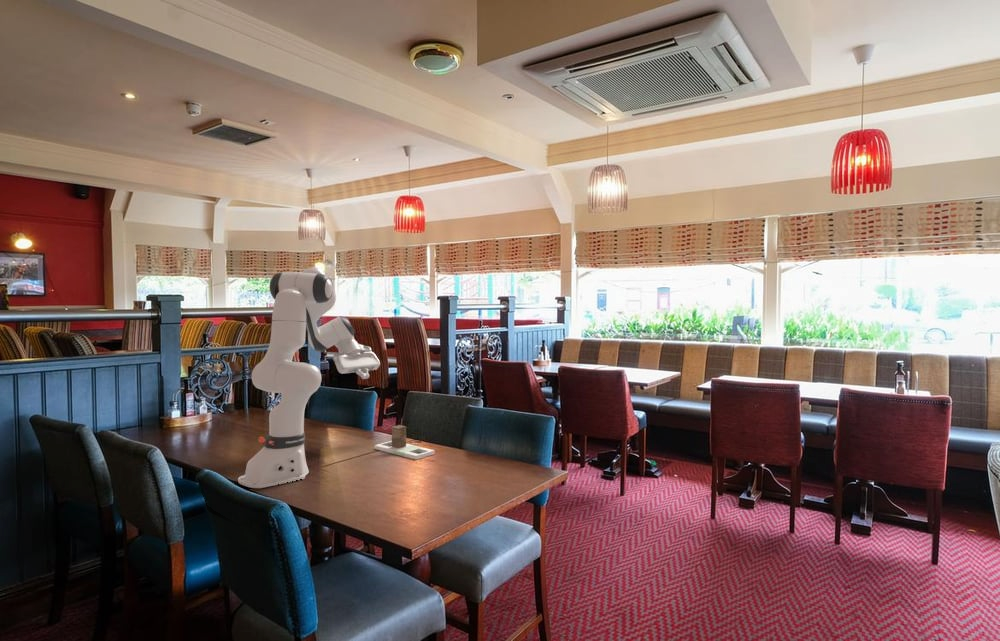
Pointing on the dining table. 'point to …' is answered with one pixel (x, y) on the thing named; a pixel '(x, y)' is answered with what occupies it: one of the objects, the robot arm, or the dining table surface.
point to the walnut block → (398, 436)
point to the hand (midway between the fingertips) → (366, 377)
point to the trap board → (405, 450)
